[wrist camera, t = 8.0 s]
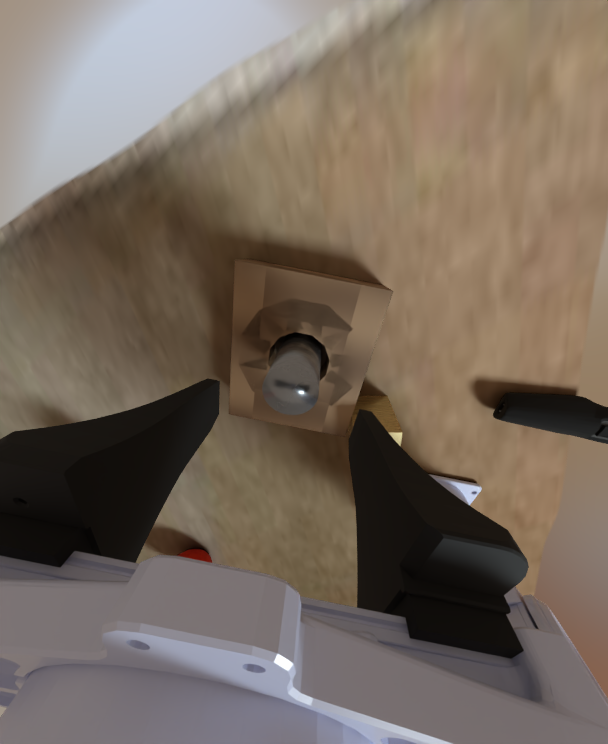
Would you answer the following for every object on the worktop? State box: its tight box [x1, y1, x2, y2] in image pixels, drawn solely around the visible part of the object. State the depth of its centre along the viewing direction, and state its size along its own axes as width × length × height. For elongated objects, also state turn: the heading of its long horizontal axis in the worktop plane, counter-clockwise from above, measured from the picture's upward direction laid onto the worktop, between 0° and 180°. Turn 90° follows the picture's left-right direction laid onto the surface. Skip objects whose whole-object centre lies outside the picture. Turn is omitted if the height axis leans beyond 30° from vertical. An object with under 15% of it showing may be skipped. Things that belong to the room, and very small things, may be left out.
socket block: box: [229, 259, 393, 437], centre depth 19 cm, size 12×10×3 cm
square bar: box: [348, 396, 402, 446], centre depth 20 cm, size 3×3×5 cm
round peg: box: [262, 332, 321, 415], centre depth 17 cm, size 3×3×7 cm
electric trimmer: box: [493, 393, 608, 444], centre depth 20 cm, size 4×16×3 cm, turn 82°
